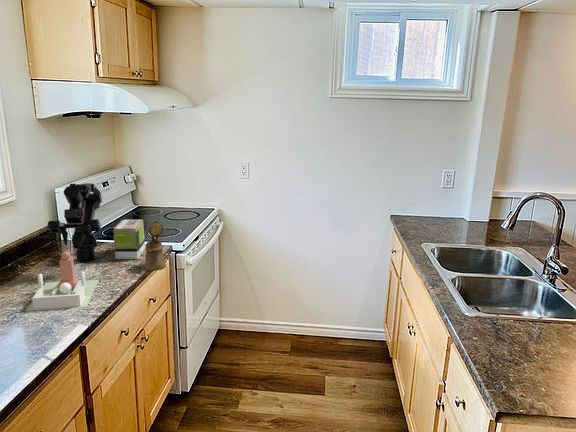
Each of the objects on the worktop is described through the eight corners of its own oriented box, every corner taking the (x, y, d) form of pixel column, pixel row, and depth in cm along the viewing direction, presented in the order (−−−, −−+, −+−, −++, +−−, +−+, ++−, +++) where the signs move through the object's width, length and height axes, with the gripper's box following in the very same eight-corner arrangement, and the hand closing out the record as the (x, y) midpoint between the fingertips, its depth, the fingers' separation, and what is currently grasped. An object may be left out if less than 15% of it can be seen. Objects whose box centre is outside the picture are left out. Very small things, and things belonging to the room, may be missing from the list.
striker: (62, 285, 165) (59, 250, 161) (77, 284, 166) (73, 249, 162) (60, 290, 161) (56, 254, 158) (74, 289, 162) (71, 253, 159)
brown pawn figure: (168, 259, 197) (167, 221, 192) (164, 270, 184) (162, 229, 179) (148, 259, 196) (146, 221, 191) (142, 271, 183) (140, 230, 178)
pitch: (46, 283, 168) (45, 279, 167) (99, 280, 172) (98, 276, 172) (25, 312, 146) (24, 306, 145) (86, 307, 150) (86, 302, 149)
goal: (41, 297, 156) (38, 273, 153) (86, 294, 159) (84, 271, 157) (32, 309, 147) (29, 284, 145) (81, 305, 150) (79, 281, 148)
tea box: (124, 248, 209) (122, 218, 205) (145, 248, 210) (144, 218, 206) (114, 259, 195) (112, 227, 191) (138, 259, 196) (136, 227, 192)
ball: (67, 289, 162) (66, 279, 161) (74, 292, 160) (73, 282, 159) (57, 293, 159) (56, 283, 158) (64, 296, 157) (63, 286, 156)
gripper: (45, 200, 170) (40, 236, 162) (97, 199, 174) (94, 234, 166) (53, 215, 179) (48, 249, 172) (102, 213, 183) (99, 247, 176)
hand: (72, 244), depth 171 cm, fingers open, 5 cm apart
